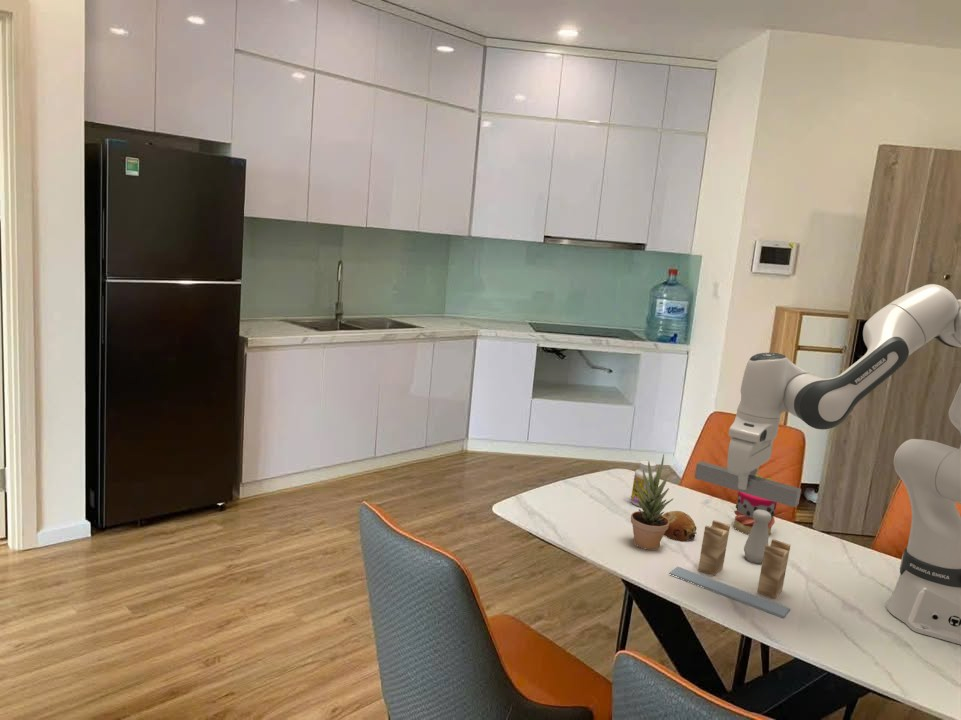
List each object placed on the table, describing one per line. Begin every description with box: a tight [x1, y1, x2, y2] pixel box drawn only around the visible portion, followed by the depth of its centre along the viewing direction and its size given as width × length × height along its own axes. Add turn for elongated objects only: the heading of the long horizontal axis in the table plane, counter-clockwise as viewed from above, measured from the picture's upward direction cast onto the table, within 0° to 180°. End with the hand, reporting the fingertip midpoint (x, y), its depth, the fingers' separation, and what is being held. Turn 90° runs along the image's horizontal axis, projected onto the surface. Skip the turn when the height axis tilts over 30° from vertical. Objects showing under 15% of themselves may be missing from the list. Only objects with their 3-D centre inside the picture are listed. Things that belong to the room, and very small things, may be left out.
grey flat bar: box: [668, 566, 791, 619], centre depth 164 cm, size 26×5×1 cm, turn 53°
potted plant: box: [630, 453, 674, 550], centre depth 183 cm, size 10×10×25 cm
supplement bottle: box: [630, 460, 657, 508], centre depth 214 cm, size 7×7×13 cm
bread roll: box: [662, 510, 698, 542], centre depth 195 cm, size 10×10×8 cm
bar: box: [694, 460, 802, 508], centre depth 160 cm, size 22×3×4 cm, turn 53°
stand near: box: [756, 539, 791, 599], centre depth 166 cm, size 4×6×11 cm, turn 143°
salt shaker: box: [743, 510, 771, 564], centre depth 182 cm, size 6×6×13 cm
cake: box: [733, 474, 778, 536], centre depth 203 cm, size 10×11×15 cm
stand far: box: [697, 520, 731, 577], centre depth 174 cm, size 4×6×11 cm, turn 143°
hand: (745, 486), depth 160 cm, fingers closed on bar, 3 cm apart
